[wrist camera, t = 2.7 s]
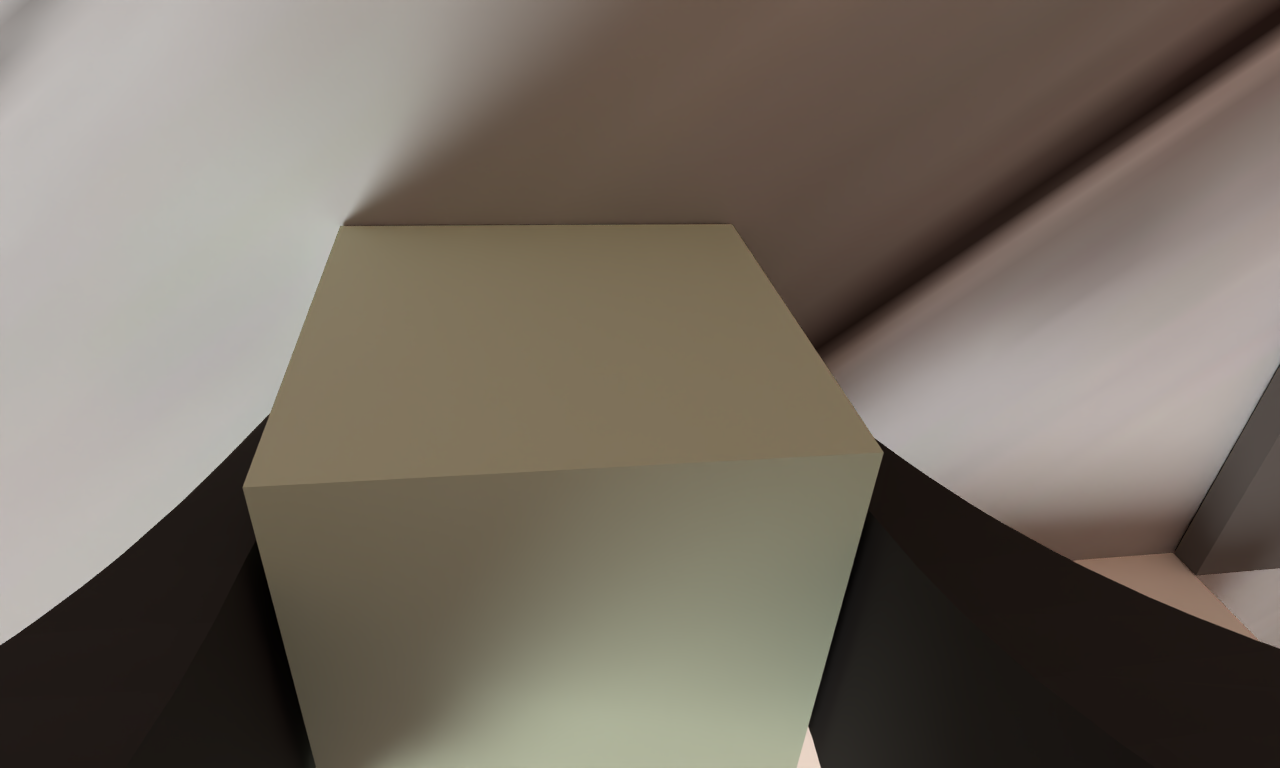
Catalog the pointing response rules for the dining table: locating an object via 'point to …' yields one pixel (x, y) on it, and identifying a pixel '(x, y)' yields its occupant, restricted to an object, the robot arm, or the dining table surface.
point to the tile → (1242, 501)
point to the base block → (1146, 576)
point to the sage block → (556, 501)
